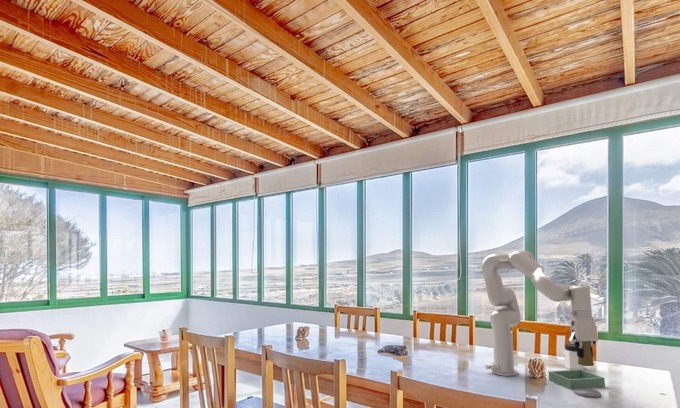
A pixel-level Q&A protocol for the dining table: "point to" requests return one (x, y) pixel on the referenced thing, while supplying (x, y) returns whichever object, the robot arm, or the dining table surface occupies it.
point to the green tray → (576, 379)
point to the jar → (571, 357)
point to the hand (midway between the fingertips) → (585, 356)
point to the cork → (586, 355)
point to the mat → (587, 392)
